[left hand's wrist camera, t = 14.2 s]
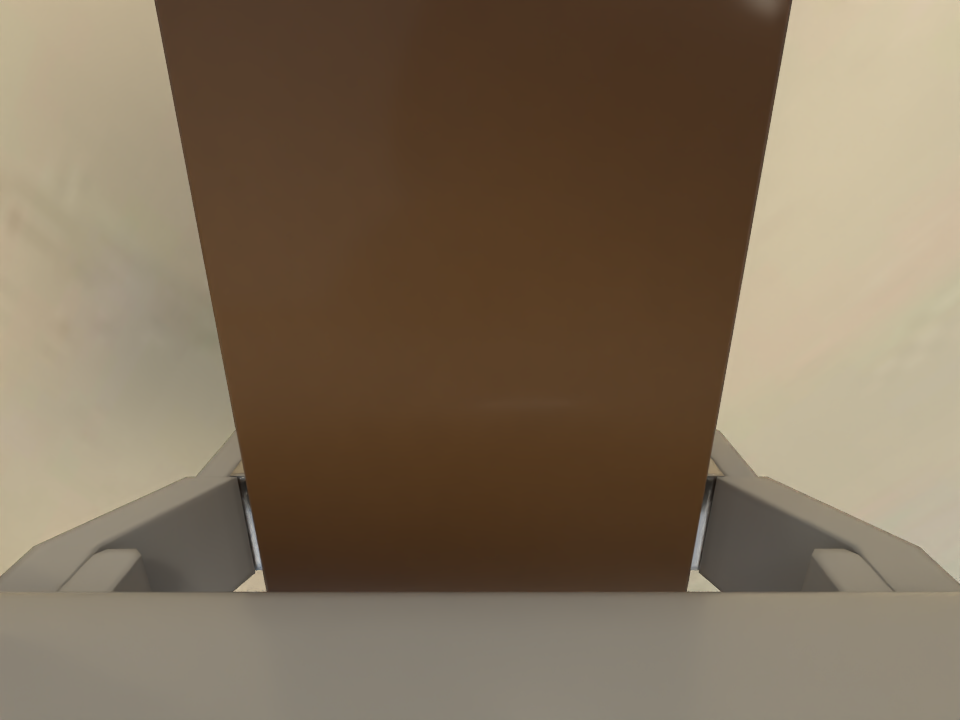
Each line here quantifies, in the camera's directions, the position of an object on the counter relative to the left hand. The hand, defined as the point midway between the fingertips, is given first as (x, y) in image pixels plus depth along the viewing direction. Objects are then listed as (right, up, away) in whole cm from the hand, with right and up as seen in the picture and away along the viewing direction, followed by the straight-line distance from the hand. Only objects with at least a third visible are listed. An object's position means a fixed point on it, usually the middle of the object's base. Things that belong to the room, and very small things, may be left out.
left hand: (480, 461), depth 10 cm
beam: (0, -18, +10) cm, 20 cm away
